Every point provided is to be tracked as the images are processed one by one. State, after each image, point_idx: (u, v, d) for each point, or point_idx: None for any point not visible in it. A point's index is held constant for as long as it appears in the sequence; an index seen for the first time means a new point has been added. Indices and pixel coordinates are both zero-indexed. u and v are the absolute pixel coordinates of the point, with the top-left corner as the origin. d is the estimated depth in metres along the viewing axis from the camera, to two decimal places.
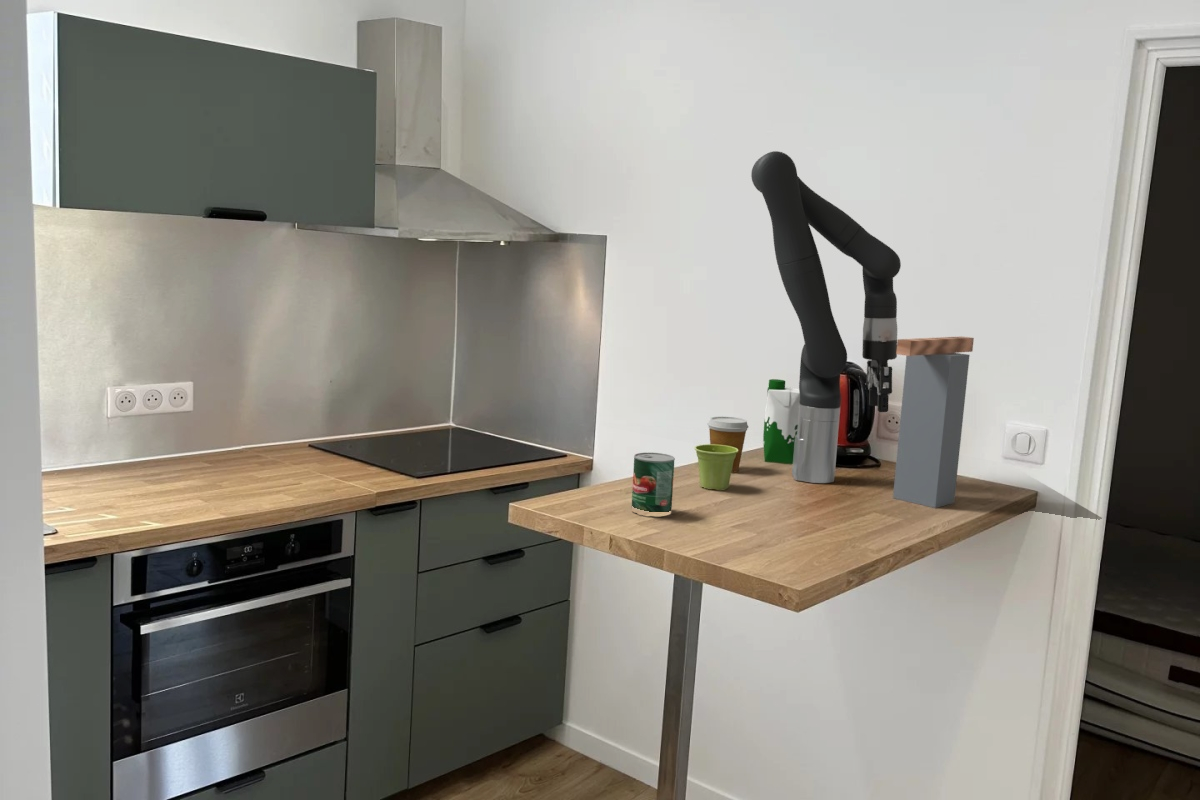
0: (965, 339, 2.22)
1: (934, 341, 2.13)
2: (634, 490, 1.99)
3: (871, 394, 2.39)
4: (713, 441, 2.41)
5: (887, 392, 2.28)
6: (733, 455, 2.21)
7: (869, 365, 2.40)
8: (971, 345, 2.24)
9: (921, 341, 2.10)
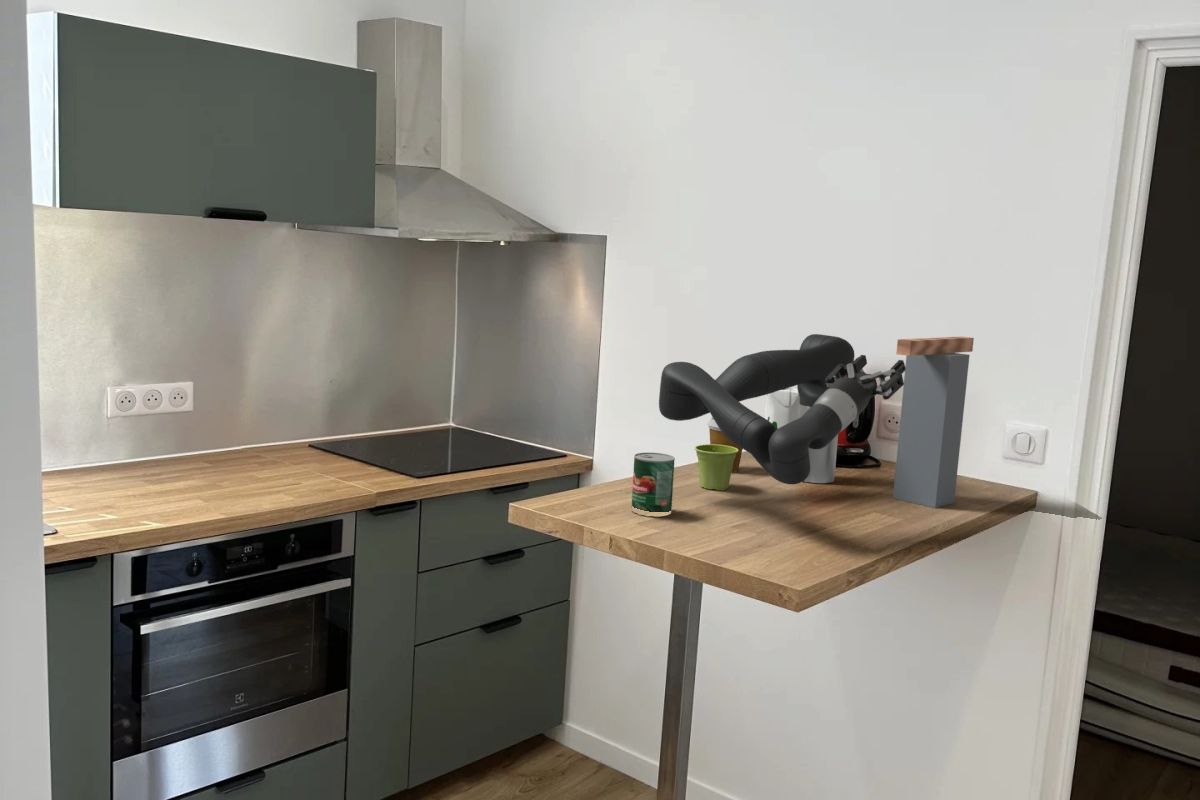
0: (965, 339, 2.22)
1: (934, 341, 2.13)
2: (634, 490, 1.99)
3: None
4: (713, 441, 2.41)
5: None
6: (733, 455, 2.21)
7: None
8: (971, 345, 2.24)
9: (921, 341, 2.10)
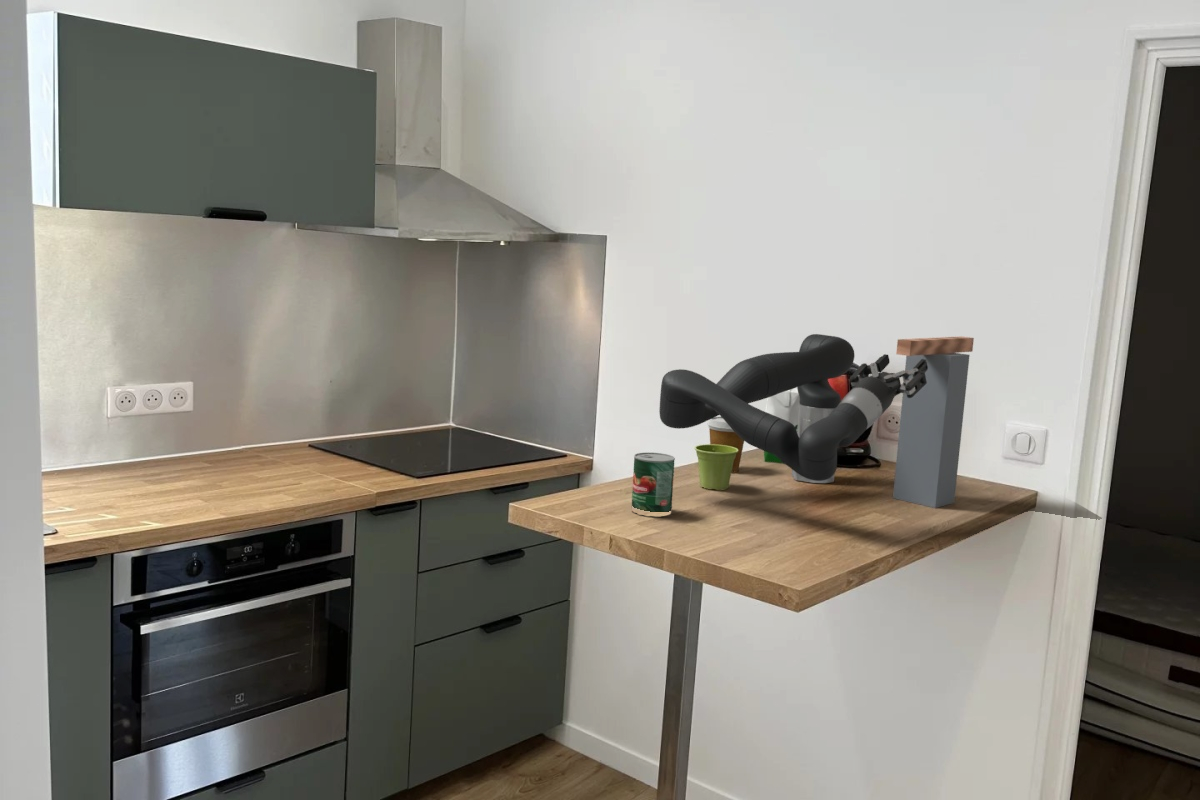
0: (965, 339, 2.22)
1: (934, 341, 2.13)
2: (634, 490, 1.99)
3: None
4: (713, 441, 2.41)
5: None
6: (733, 455, 2.21)
7: None
8: (971, 345, 2.24)
9: (921, 341, 2.10)
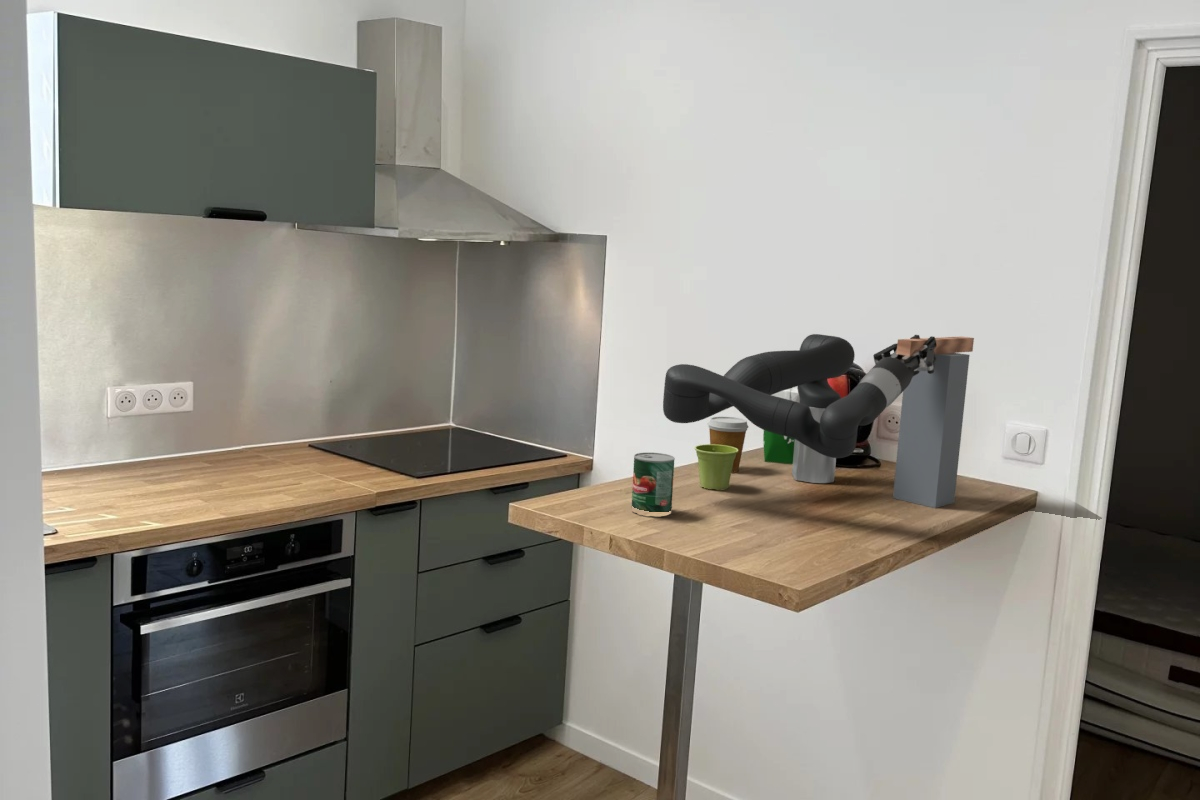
0: (965, 339, 2.22)
1: None
2: (634, 490, 1.99)
3: None
4: (713, 441, 2.41)
5: None
6: (733, 455, 2.21)
7: (926, 361, 2.05)
8: (971, 345, 2.24)
9: (921, 341, 2.10)
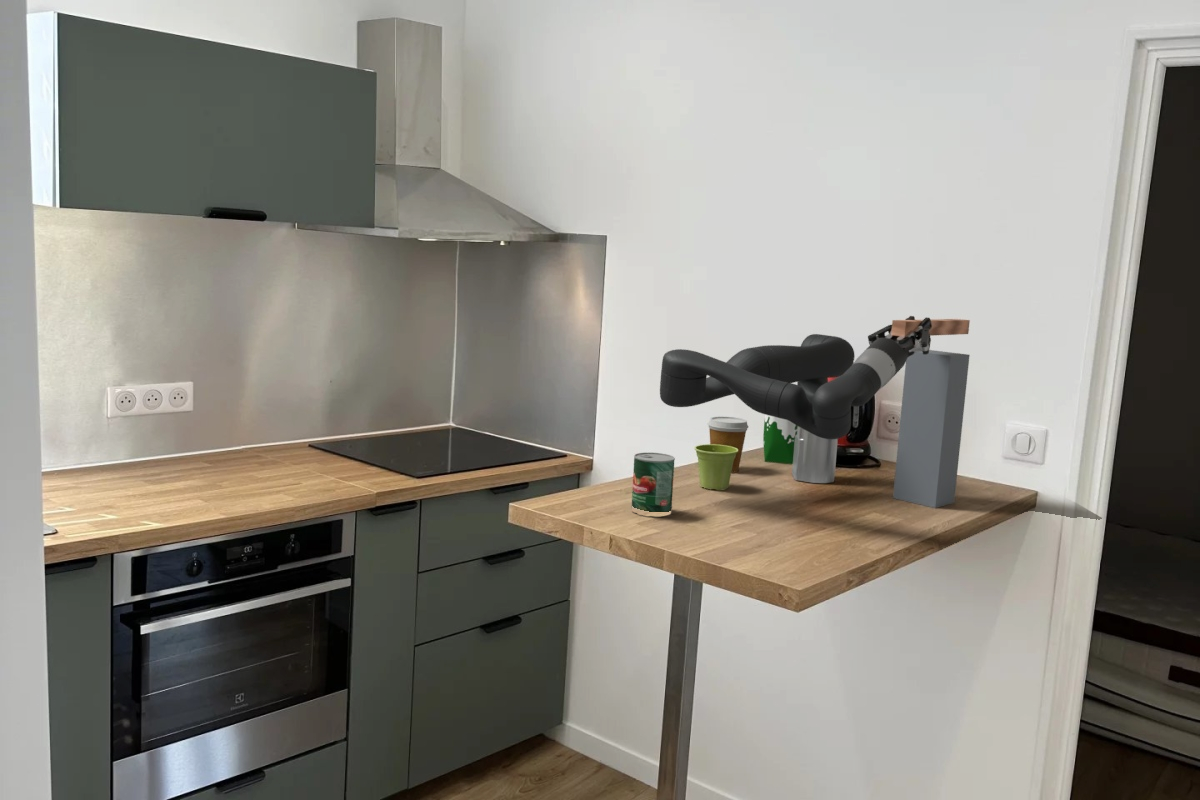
0: (961, 321, 2.20)
1: None
2: (634, 490, 1.99)
3: None
4: (713, 441, 2.41)
5: None
6: (733, 455, 2.21)
7: (921, 342, 2.02)
8: (967, 327, 2.22)
9: (916, 322, 2.07)
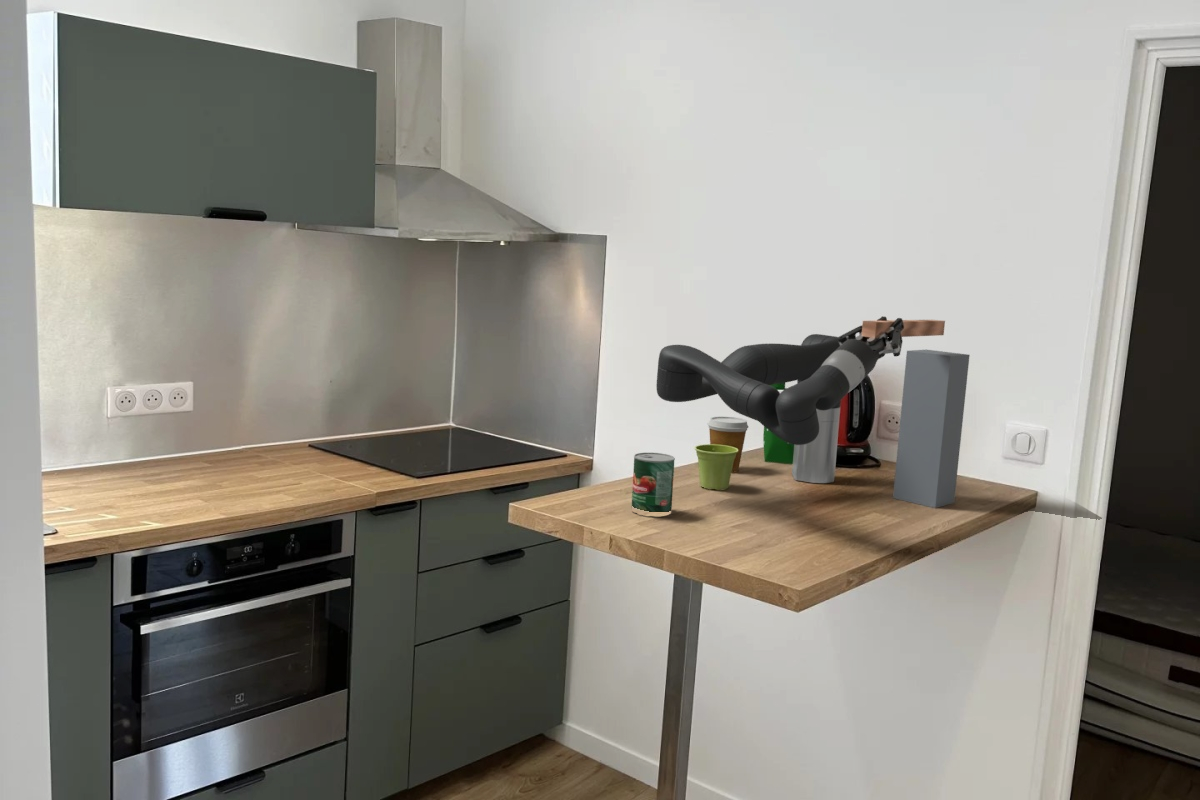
0: (936, 322, 2.12)
1: None
2: (634, 490, 1.99)
3: None
4: (713, 441, 2.41)
5: None
6: (733, 455, 2.21)
7: None
8: (942, 328, 2.15)
9: (887, 323, 2.00)
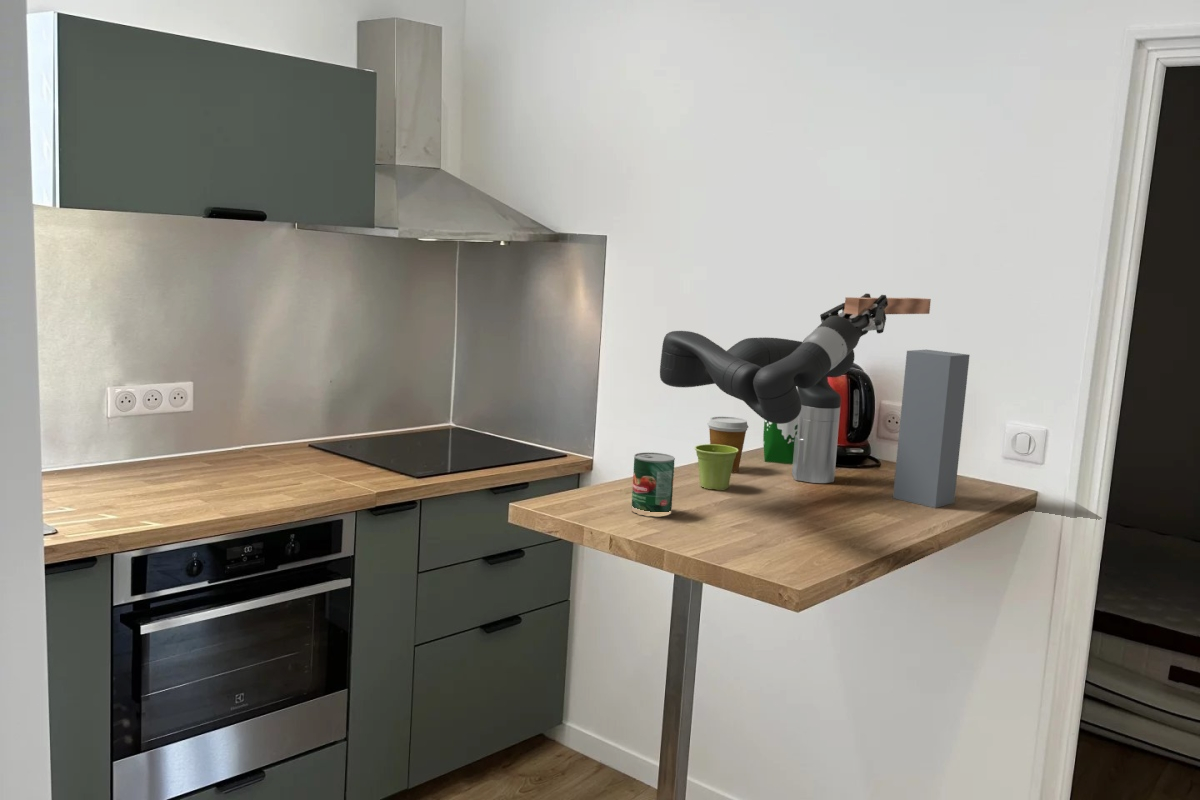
0: (921, 300, 2.07)
1: None
2: (634, 490, 1.99)
3: None
4: (713, 441, 2.41)
5: None
6: (733, 455, 2.21)
7: None
8: (928, 307, 2.10)
9: (871, 299, 1.95)
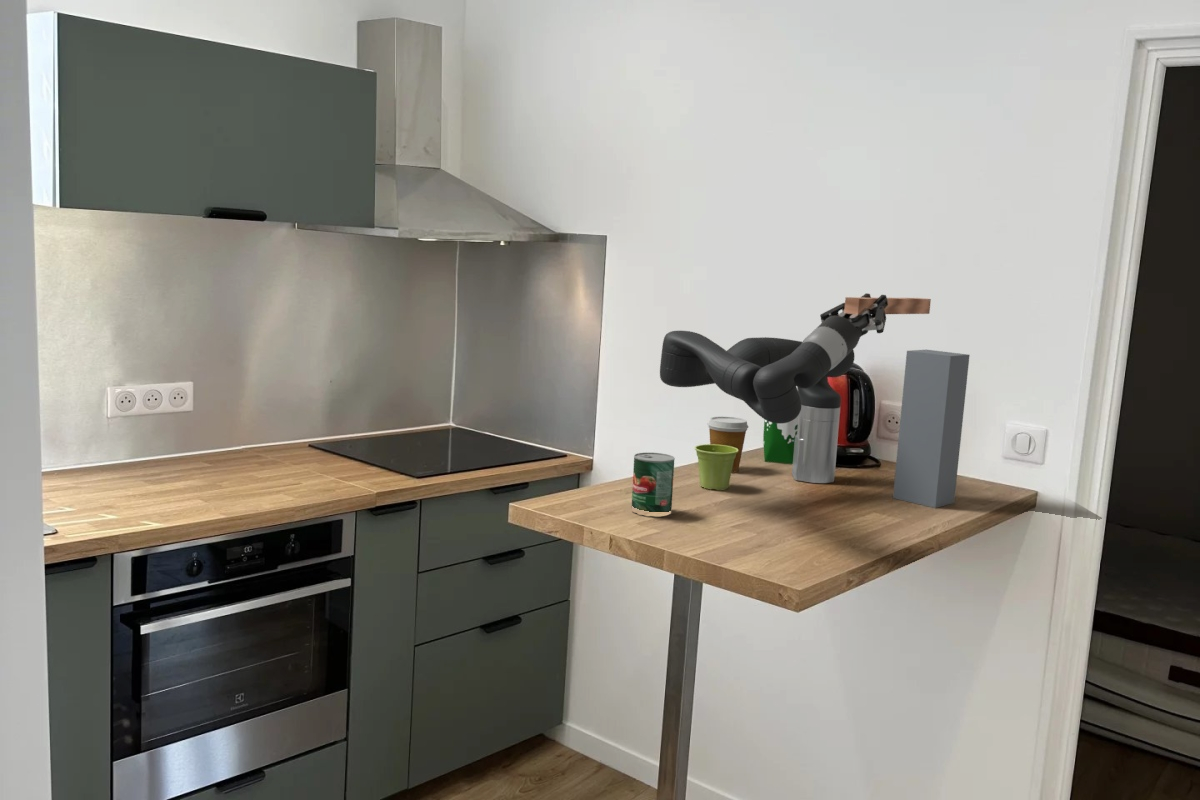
0: (921, 300, 2.07)
1: None
2: (634, 490, 1.99)
3: None
4: (713, 441, 2.41)
5: None
6: (733, 455, 2.21)
7: None
8: (928, 307, 2.10)
9: (871, 299, 1.95)
